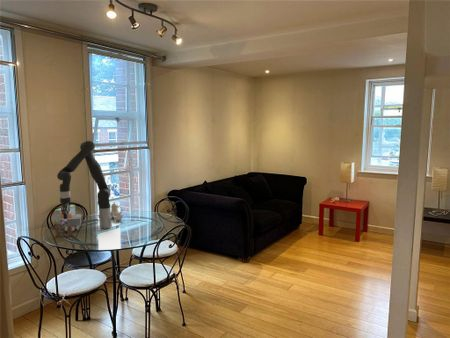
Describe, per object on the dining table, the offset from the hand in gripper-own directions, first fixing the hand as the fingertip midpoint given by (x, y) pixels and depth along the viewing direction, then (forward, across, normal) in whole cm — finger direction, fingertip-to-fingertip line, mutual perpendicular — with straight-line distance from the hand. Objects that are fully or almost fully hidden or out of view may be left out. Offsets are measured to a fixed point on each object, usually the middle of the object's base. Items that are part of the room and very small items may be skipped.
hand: (66, 218), depth 262 cm
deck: (+14, -6, 0) cm, 15 cm away
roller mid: (+13, -11, +2) cm, 17 cm away
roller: (0, +1, 0) cm, 1 cm away
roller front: (+13, -6, 0) cm, 14 cm away
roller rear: (+13, -18, 0) cm, 22 cm away
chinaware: (+14, -43, +26) cm, 52 cm away
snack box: (+14, -34, -13) cm, 39 cm away
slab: (+9, -15, +1) cm, 17 cm away
